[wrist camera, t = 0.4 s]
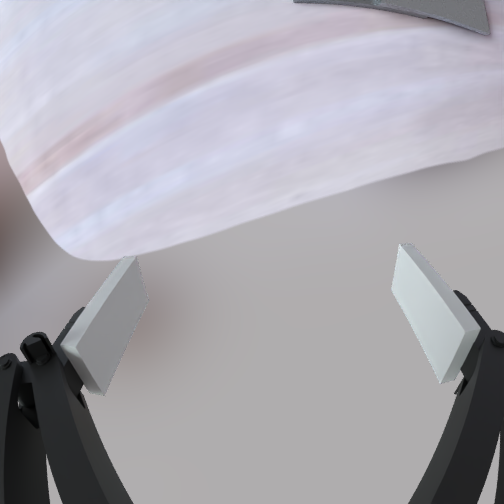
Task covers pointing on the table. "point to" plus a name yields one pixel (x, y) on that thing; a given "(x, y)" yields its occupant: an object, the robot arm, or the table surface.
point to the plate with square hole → (428, 10)
